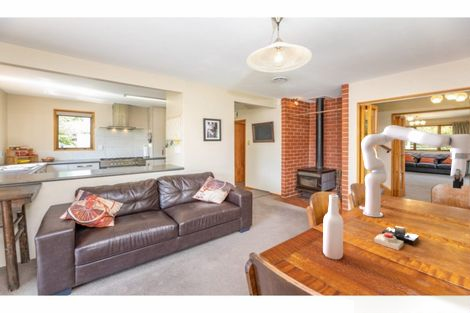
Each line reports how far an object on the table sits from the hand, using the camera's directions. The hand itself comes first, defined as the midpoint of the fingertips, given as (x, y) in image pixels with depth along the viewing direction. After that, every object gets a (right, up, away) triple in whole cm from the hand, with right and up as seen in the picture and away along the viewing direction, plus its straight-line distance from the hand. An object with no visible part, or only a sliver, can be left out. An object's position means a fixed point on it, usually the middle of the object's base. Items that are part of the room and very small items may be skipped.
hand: (458, 186), depth 114 cm
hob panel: (-32, -30, +1) cm, 43 cm away
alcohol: (-77, -32, -13) cm, 84 cm away
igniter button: (-42, -27, -4) cm, 50 cm away
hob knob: (-32, -26, +1) cm, 41 cm away
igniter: (-42, -30, -4) cm, 52 cm away
